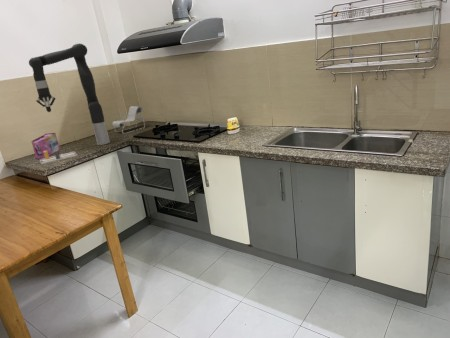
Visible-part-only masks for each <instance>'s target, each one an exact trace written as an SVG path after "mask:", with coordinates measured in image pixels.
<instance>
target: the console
mask: <svg viewBox="0 0 450 338" xmlns="http://www.w3.org/2000/svg"><path fill="white" fill-rule="evenodd" d="M59 156H60V158H58V159H56V156H55V155H53V156H49V159H45V158H40V159H39V162H40V164H41V165H45V164H50V163H54V162H58V161H61V160H67V159H71V158H74V157H78V153H77V152H76V151H74V150H73V151H70V152H67V153H61V154H59Z"/></svg>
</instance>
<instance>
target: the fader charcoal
mask: <svg viewBox="0 0 450 338" xmlns="http://www.w3.org/2000/svg"><path fill="white" fill-rule="evenodd" d="M53 154H54V156H56V159H58V158H60V156H59V155H60V152H59V150H55V151H54V153H53Z"/></svg>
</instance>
